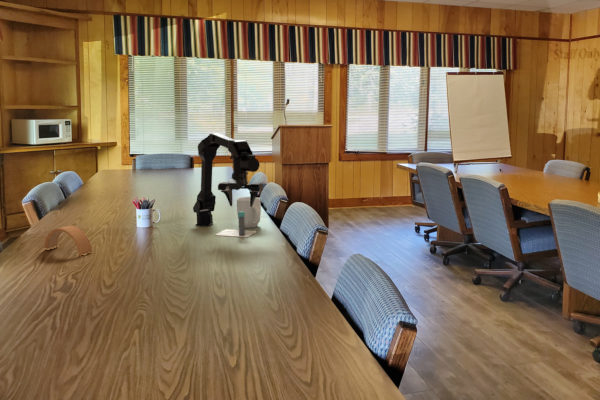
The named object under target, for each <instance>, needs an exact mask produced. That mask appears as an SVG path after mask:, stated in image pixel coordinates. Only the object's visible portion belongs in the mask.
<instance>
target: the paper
mask: <svg viewBox="0 0 600 400" xmlns="http://www.w3.org/2000/svg"><path fill="white" fill-rule="evenodd" d="M257 232H258V231H257V230H248V229H247V230H246V229H245V235H243V236H240V235H239V229H227V228H226V229H224V230H221V231H220V232H217V233H216V234H215V237H216V236H217V237H231V238H232V237H233V238H250V237H251V236H252V235H254V234H256V233H257Z"/></svg>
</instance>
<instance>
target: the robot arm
mask: <svg viewBox="0 0 600 400" xmlns="http://www.w3.org/2000/svg"><path fill="white" fill-rule="evenodd" d="M221 146H222V147H224V148H225V149H227V151H228V152H229V153H230V154H231V156H230V157H229V159H230V160H232V173H231V178H229V180H228V181H222V182H219V183H218V184H217V190H218V191H220V192H221V193H223V194H224V195H225V196H226V199H227V201H228V203H229V206H230V207H233V191H239V190H241V189H242V190H243V189H244V190H245V189H246V190H249V189H250V191H249V194H250V196H249V197H250V207H252V206H253V203H254V200H255V198H256V197H257V195H258V193H259V192H261V191H262V190H264V184H263V183H262V182H253V183H250V184H249V181H248V174H249V172H251V173H256V172H258V170H259V168H260V165H261V164H260V161H259V160H258V158H256V155H254V154H253V151H252V149H251V147H250V144H249V143H248V141H247V140H246V139H234V138H231V137H229V136H226V135H224V134H222V133H220V132H211V133H209V134H208V135H207V136H206V137H205V138H203V139H202V140H201V141H200V142H199V143H198V145H197V152H198V153H197V154H198V156H199V158H200V160H201V170H200V173H201V175H200V176H201V177H200V191H199V193H198V194H197V195H196V202H194V205H193V207H192V210H193V213H196V223H195V224H194V225H195V226H200V227H201V226H202V227H203V226H204V227H205V226H206V227H208V226H210V225H212V224H214V219H213V214H212V212H214V211H215V207H216V206H215V205H216V203H217V202H216V198H217V197H216V195H215V194H214V193H213V191H212V190H213V189H212V186H213V185H212V184H213V161H214V159H215V158H216V157H217V153H218V149H219V148H220V147H221Z"/></svg>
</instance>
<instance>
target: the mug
mask: <svg viewBox="0 0 600 400" xmlns="http://www.w3.org/2000/svg"><path fill="white" fill-rule="evenodd" d="M261 211H262V207H261V197H257V196H256V198H255V200H254V203H253V206H252V207H250V196H243V197H242V196H241V197H237V198H236V212H237V214H236V215H238V212H245V228H246V229H253V228H256V227H257V226H258V225H259V223H260V221H261Z"/></svg>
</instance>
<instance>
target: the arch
mask: <svg viewBox="0 0 600 400" xmlns="http://www.w3.org/2000/svg"><path fill="white" fill-rule="evenodd" d="M62 233H65V234H66V235H68V236H69V237H70V238H71V239H72V240H73V242H74V243H75V245H76V247H77V251H78V256H79V255H82V254H85V253H88V252H92V253H93V249H92V245H91V242H90V240H89V238H88V236H87V235H86V234H85V232H84V231H83V230H82V229H81V228H78V227H77V226H75V225H66V226H62V227H59V228H54V229H52V230H51V231H50V232H49V233H47V236H46V238H45V240H44V245H43V246H44V248H50V247H54V246H58V245H59V238H60V236H61V234H62Z"/></svg>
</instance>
